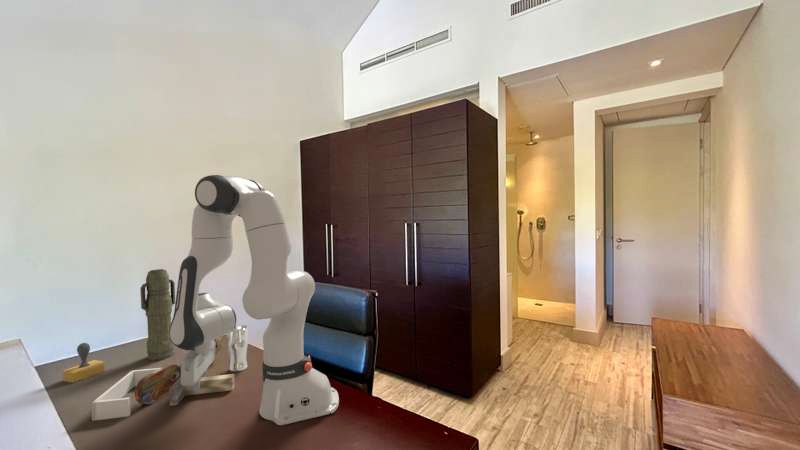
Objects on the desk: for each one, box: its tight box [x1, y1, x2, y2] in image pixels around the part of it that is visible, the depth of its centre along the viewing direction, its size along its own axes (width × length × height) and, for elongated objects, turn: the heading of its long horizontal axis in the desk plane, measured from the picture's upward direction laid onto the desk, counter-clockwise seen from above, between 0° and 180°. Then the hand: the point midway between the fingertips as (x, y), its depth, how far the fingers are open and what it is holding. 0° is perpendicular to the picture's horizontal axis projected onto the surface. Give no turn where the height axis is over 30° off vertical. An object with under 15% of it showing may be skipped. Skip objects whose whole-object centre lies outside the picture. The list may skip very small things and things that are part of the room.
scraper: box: [168, 373, 236, 406], centre depth 114 cm, size 16×14×5 cm
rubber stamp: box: [62, 342, 106, 383], centre depth 127 cm, size 10×6×12 cm, turn 161°
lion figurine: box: [180, 337, 224, 365], centre depth 136 cm, size 15×5×9 cm, turn 104°
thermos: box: [139, 268, 176, 361], centre depth 143 cm, size 9×12×35 cm
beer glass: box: [226, 324, 249, 373], centre depth 131 cm, size 7×7×15 cm
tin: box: [134, 364, 181, 405], centre depth 111 cm, size 15×3×8 cm, turn 168°
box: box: [90, 367, 161, 421], centre depth 110 cm, size 9×21×5 cm, turn 12°
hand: (199, 386), depth 113 cm, fingers closed on scraper, 3 cm apart
